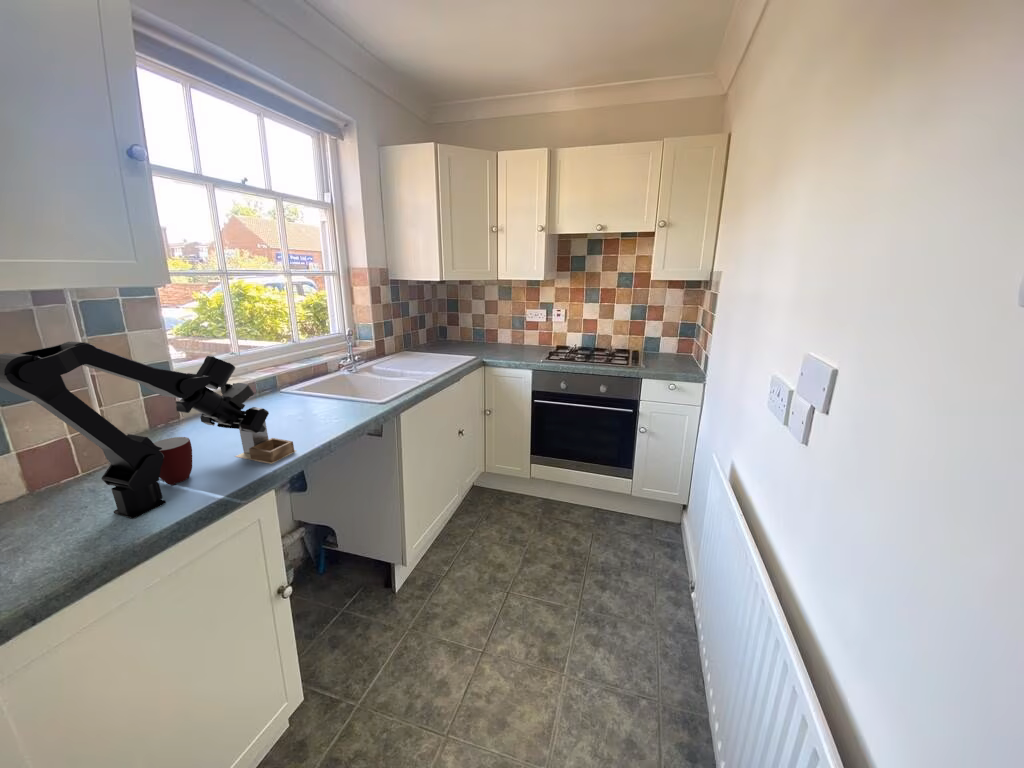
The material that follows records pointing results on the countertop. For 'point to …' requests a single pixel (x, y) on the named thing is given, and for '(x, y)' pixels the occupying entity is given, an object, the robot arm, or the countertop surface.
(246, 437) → the post
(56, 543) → the countertop surface
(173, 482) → the mug
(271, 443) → the stand
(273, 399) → the countertop surface
